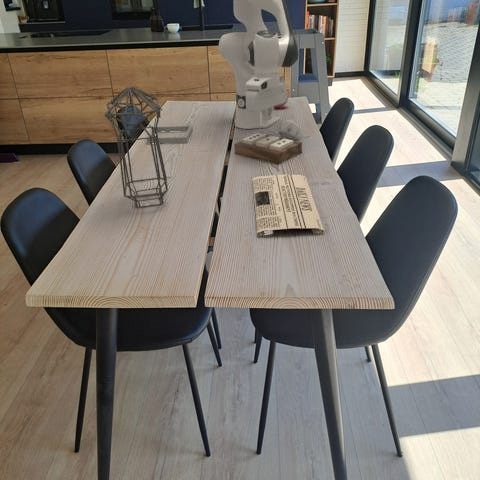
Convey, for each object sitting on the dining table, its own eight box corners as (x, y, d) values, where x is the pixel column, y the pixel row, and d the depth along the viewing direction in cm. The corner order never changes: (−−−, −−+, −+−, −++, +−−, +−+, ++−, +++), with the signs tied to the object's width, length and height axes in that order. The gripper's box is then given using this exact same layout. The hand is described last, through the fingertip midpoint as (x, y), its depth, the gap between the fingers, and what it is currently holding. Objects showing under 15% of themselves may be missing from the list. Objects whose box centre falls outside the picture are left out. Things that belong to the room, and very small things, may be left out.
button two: (283, 146, 175) (283, 138, 173) (293, 148, 173) (293, 140, 171) (269, 152, 169) (269, 144, 168) (279, 155, 167) (279, 146, 165)
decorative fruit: (266, 109, 233) (265, 88, 228) (275, 105, 238) (275, 85, 233) (281, 111, 227) (281, 90, 222) (290, 107, 233) (290, 87, 227)
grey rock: (273, 141, 190) (279, 127, 181) (279, 126, 193) (285, 111, 185) (292, 148, 190) (298, 134, 181) (297, 133, 194) (303, 118, 185)
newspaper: (252, 183, 153) (252, 176, 151) (310, 180, 152) (310, 173, 151) (257, 239, 121) (256, 229, 119) (330, 235, 120) (330, 226, 119)
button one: (270, 143, 179) (270, 135, 177) (279, 145, 176) (279, 137, 175) (256, 149, 173) (255, 141, 171) (265, 151, 171) (265, 143, 169)
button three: (257, 140, 183) (257, 132, 181) (266, 142, 180) (265, 134, 178) (243, 146, 177) (242, 138, 175) (251, 148, 174) (251, 140, 173)
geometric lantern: (123, 215, 136) (99, 95, 118) (124, 193, 149) (103, 83, 131) (175, 208, 138) (160, 90, 120) (172, 188, 151) (157, 78, 134)
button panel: (258, 143, 187) (258, 133, 185) (301, 152, 175) (301, 142, 173) (234, 153, 177) (234, 143, 175) (278, 164, 165) (278, 153, 163)
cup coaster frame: (155, 132, 207) (154, 126, 206) (192, 130, 206) (192, 125, 205) (147, 144, 192) (146, 138, 191) (187, 143, 191) (186, 137, 190)
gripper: (277, 75, 171) (277, 112, 177) (242, 84, 157) (243, 124, 164) (291, 76, 167) (290, 114, 174) (256, 86, 154) (257, 127, 160)
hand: (267, 119), depth 169 cm, fingers closed
